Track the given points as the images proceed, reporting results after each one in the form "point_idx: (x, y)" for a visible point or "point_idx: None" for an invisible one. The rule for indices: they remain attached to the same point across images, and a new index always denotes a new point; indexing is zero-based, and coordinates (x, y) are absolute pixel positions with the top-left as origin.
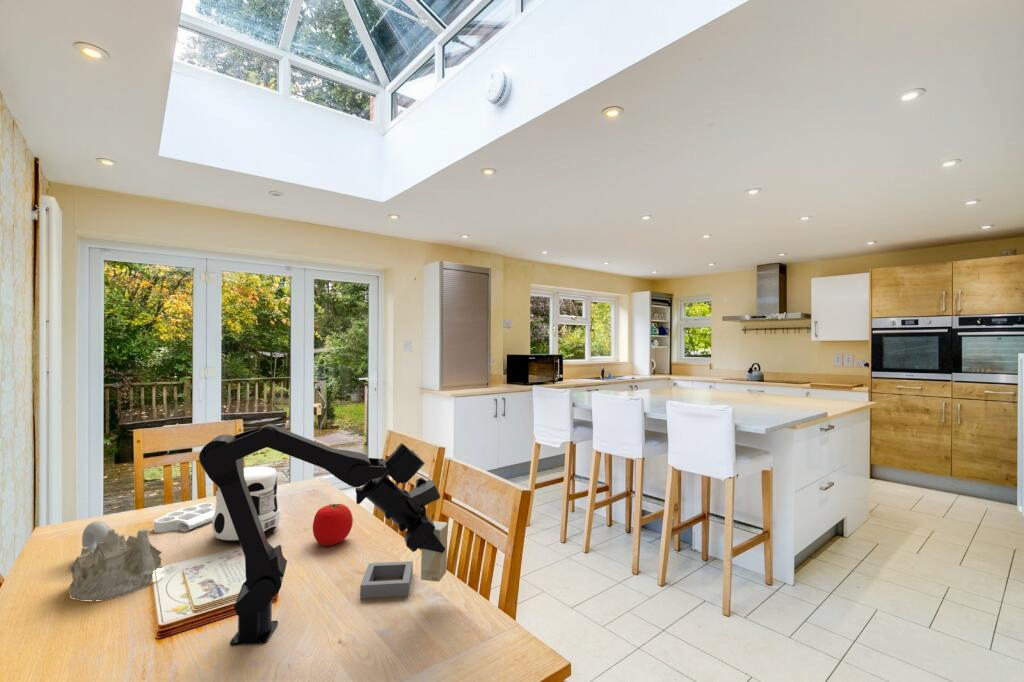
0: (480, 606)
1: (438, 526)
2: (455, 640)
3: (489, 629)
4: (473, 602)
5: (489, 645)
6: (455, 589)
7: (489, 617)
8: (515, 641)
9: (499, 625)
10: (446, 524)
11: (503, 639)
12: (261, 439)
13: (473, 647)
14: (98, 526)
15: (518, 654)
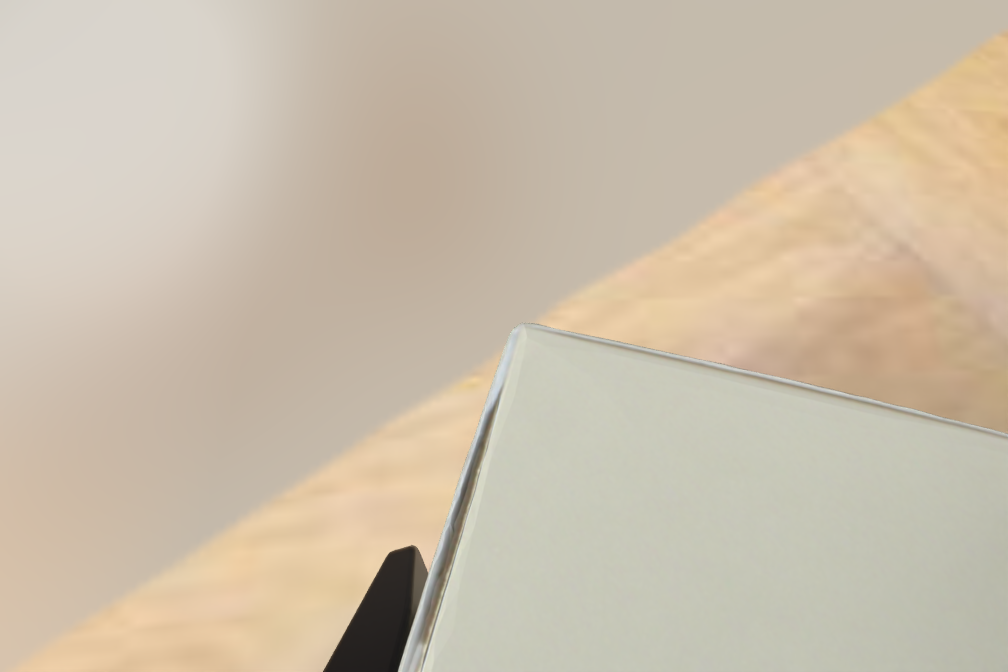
0: (636, 296)
1: (838, 524)
2: (961, 413)
3: (839, 254)
4: (596, 332)
5: (967, 254)
6: (449, 440)
7: (736, 253)
8: (914, 151)
9: (800, 211)
10: (607, 341)
11: (908, 196)
12: None
13: (999, 324)
14: None
15: (1003, 144)
